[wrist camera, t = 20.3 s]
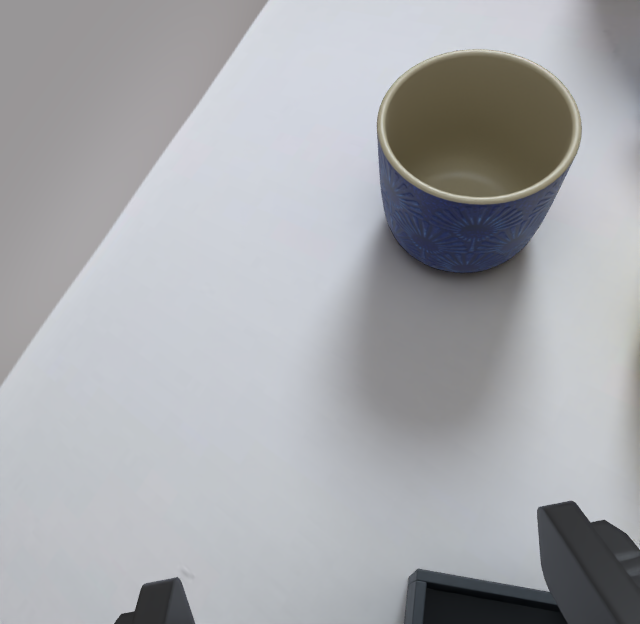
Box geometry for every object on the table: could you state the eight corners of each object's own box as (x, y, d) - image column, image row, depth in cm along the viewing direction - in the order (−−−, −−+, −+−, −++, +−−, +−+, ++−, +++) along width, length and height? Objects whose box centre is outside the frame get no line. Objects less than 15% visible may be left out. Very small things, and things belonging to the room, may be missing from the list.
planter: (542, 162, 49) (582, 52, 39) (538, 299, 44) (582, 212, 34) (388, 150, 51) (389, 43, 41) (367, 280, 46) (363, 193, 36)
